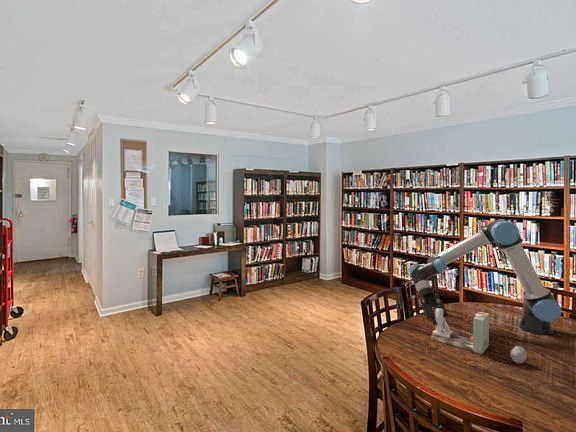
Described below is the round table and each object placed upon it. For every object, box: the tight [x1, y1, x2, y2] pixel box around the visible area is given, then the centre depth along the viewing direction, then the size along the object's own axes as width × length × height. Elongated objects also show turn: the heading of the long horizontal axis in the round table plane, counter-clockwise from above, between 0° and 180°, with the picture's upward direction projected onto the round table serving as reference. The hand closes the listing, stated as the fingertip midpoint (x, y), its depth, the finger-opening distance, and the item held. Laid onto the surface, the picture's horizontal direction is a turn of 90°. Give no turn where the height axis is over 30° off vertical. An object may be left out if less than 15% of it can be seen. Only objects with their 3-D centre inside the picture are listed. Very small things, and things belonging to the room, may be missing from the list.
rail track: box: [430, 332, 473, 351], centre depth 174 cm, size 20×10×2 cm, turn 47°
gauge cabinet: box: [472, 311, 490, 354], centre depth 166 cm, size 5×12×17 cm, turn 137°
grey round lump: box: [509, 345, 528, 365], centre depth 152 cm, size 6×7×7 cm
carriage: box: [432, 308, 460, 338], centre depth 177 cm, size 11×8×12 cm
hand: (444, 330), depth 176 cm, fingers closed on carriage, 4 cm apart
